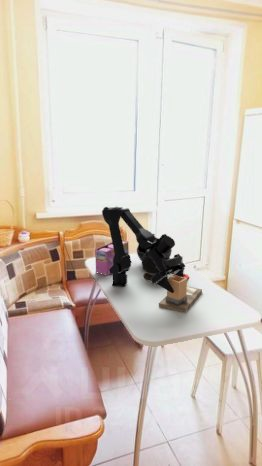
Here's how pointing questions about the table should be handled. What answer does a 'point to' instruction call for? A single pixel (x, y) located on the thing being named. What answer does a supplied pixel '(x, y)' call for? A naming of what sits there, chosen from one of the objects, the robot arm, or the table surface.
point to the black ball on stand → (148, 267)
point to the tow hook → (184, 274)
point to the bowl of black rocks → (143, 251)
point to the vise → (176, 301)
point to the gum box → (107, 257)
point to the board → (191, 297)
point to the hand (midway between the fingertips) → (179, 289)
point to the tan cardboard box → (177, 287)
